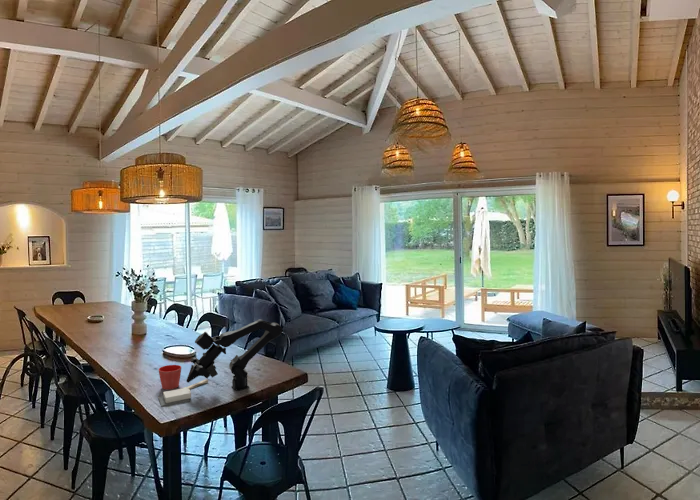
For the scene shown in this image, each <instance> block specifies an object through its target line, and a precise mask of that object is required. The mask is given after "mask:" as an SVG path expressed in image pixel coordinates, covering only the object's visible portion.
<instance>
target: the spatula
mask: <svg viewBox="0 0 700 500" xmlns="http://www.w3.org/2000/svg"><path fill="white" fill-rule="evenodd" d="M206 383H209V379H208V378H205V379H203V380H200V381H198V382H195V383H193V384H191V385H188V386H186V387H185V386H184V387H183V388H189V390H190V391H191V389H195V388H197V387H200V386H202V385H205V384H206Z"/></svg>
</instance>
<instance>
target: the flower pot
mask: <svg viewBox="0 0 700 500" xmlns="http://www.w3.org/2000/svg"><path fill="white" fill-rule="evenodd" d="M181 374H182V366H181V365H179V364H168V365H167V364H166V365H164V366H161V367H159V368H158V376H159V380H160V385H161V388H162V389H163V390H165V391H166V390H167V391H170V390H176V389H178V387H179V386H180V382H181Z"/></svg>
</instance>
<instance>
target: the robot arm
mask: <svg viewBox="0 0 700 500" xmlns="http://www.w3.org/2000/svg"><path fill="white" fill-rule="evenodd" d="M258 330H264V333H263V335H262V336H261V337H259V339H257V341H255V342H254V343H253V344H252V345H251V346H250V347H249V348H248V349H247V350H246V351H245V352H244V353H243V354H240V355H239V356H238V354H236V355H235V356H234V357H233V359H230V362H229V365H228V369H230V372H231V374H232V385H231V388H232V389H234V390H235V391H242V390H246V389H249V388H250V385H248V371H247V370H246V367H247V365H248V363H249V362H250V361H251V360H252V359H253V358H254V357H255V356H256V355H257V354H258V353H259V352H260V351H261V350H262V349H264V347H265V346H266V345H268V343H269V342H271V341H273V340H275V339H277V338H278V337H280V336H281V334H282V333H283V328H282V326H281V325H280V324H279V323H277V322H269V321H267V320H263V319H262V318H261V319H257V320H255V321H254V322H250V323H249V324H247V325H244V326H243V327H239V328H237V329H236V330H230V331H226V332H222V333H220V334H219V335H216V336H211V335H210V334H208V332H207V331H204V332H203V333H201V334H199V335H198V336H197V338H196V339H195V340H194V343H195V344H196V345H197V346H198V347H200V348H201V349H202V350H203V351H204V350H207V351H205V352H203V353H202V356H201V357H200V358H197V357H192V358H191V359H190V362H191V363H193V364H191V366H190V369H189V372H188V375H187V378H186V383H188V384H189V383H191V381H193V380H194V379H196V378H198V377H204V378H205V379H208V378H210V377H211V379H212V378H214V377H216V376H217V375H218V372H217V367H216V365H215V361H216V359H218V357H219V356H220V355H221V354H222V353H223V354H224V355H227V348H228V347H230V346H231V345H233V344H235V343H236V342H237V341H238V340H239V339H241V338H243V337H245V336H247V335H250V334H251V333H253V332H257V331H258Z"/></svg>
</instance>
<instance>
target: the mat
mask: <svg viewBox="0 0 700 500" xmlns="http://www.w3.org/2000/svg"><path fill="white" fill-rule="evenodd" d="M157 399H158V401H159V404H160V407H161V408H163V407H169V406H173V405H178V404H182V403H189V402H190V398H189V399H184V400H179V401H174V402H169V403H166V402H165V400H164V396H163V395H159V396H157Z"/></svg>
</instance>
